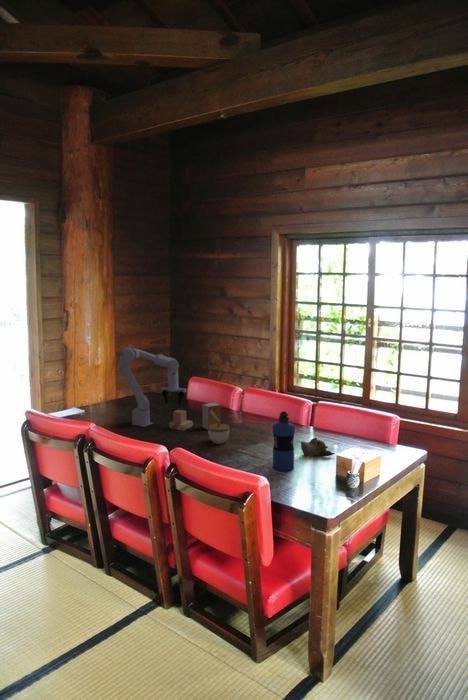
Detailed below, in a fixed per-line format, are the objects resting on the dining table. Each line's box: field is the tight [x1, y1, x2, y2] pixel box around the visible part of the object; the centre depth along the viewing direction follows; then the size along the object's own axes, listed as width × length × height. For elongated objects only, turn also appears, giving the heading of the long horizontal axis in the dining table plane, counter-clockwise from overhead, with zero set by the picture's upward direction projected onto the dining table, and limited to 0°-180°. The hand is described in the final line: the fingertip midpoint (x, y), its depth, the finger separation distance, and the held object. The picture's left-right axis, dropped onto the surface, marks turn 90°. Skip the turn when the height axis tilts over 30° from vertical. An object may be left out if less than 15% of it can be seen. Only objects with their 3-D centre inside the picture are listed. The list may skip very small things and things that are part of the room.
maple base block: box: [168, 419, 194, 431], centre depth 288 cm, size 9×9×4 cm
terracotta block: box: [172, 409, 187, 424], centre depth 287 cm, size 5×5×6 cm
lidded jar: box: [207, 423, 230, 445], centre depth 263 cm, size 11×11×9 cm
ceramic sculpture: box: [300, 437, 335, 458], centre depth 244 cm, size 11×9×15 cm
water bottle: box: [272, 411, 296, 473], centre depth 227 cm, size 9×9×25 cm
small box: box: [201, 402, 222, 431], centre depth 287 cm, size 8×6×13 cm
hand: (173, 404), depth 296 cm, fingers open, 7 cm apart
